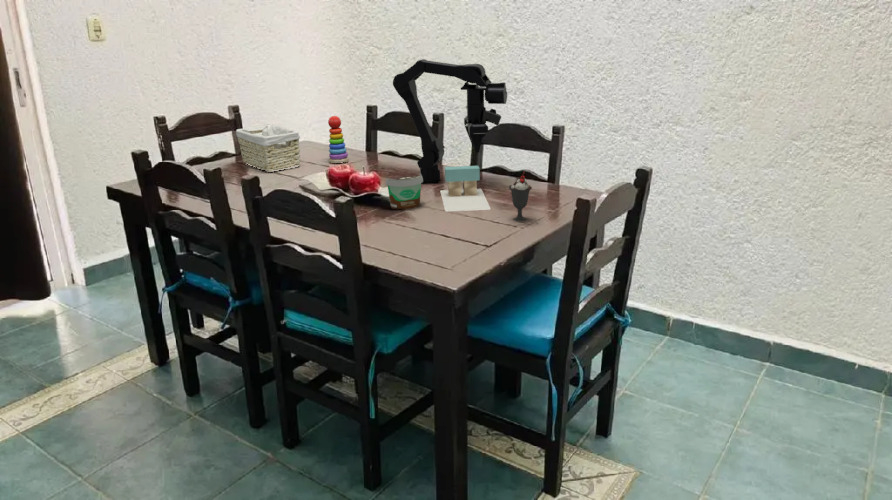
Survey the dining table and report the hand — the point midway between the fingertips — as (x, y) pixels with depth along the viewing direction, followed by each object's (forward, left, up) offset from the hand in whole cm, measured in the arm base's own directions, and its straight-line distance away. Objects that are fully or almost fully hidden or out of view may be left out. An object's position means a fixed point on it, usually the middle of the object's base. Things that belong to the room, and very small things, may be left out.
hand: (475, 149), depth 223 cm
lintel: (-6, -13, -7) cm, 16 cm away
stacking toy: (-51, +44, -13) cm, 69 cm away
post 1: (-9, -13, -12) cm, 19 cm away
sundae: (+8, -41, -13) cm, 44 cm away
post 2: (-4, -13, -12) cm, 18 cm away
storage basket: (-78, +41, -13) cm, 89 cm away
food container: (-24, -24, -13) cm, 36 cm away
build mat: (-6, -19, -12) cm, 23 cm away
